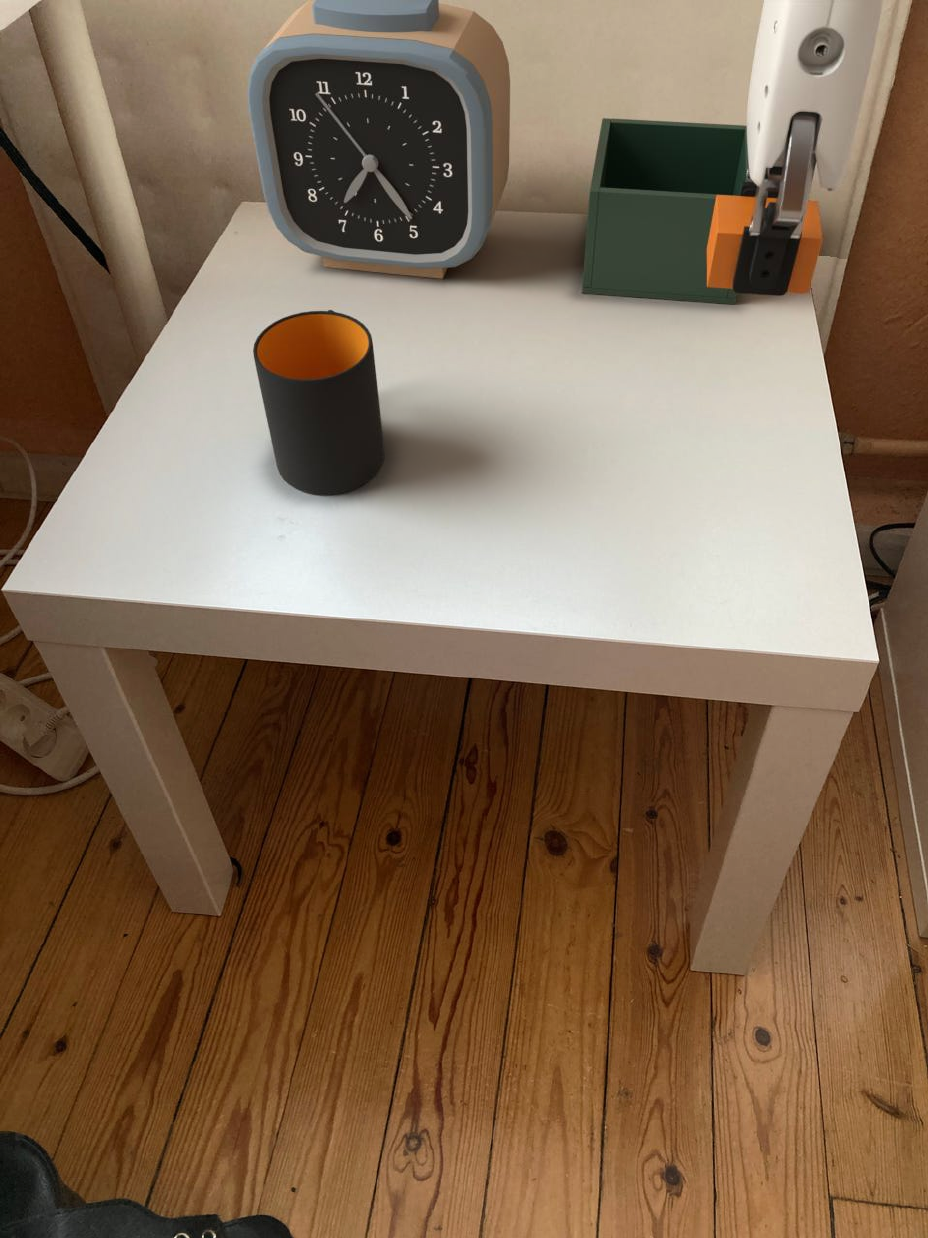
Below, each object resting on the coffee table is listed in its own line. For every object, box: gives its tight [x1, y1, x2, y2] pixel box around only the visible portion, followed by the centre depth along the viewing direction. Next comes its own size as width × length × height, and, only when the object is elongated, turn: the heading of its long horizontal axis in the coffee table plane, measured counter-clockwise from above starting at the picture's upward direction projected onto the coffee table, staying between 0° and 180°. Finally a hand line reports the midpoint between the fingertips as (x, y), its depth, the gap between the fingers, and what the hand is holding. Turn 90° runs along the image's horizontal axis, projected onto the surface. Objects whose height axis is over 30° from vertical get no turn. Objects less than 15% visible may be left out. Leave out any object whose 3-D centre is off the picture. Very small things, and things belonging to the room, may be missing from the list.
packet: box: [707, 195, 824, 295], centre depth 62 cm, size 4×6×4 cm
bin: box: [581, 117, 753, 305], centre depth 92 cm, size 14×14×10 cm
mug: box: [252, 309, 385, 496], centre depth 76 cm, size 8×12×10 cm
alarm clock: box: [246, 0, 511, 280], centre depth 89 cm, size 21×10×22 cm, turn 78°
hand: (757, 265), depth 63 cm, fingers closed on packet, 4 cm apart
